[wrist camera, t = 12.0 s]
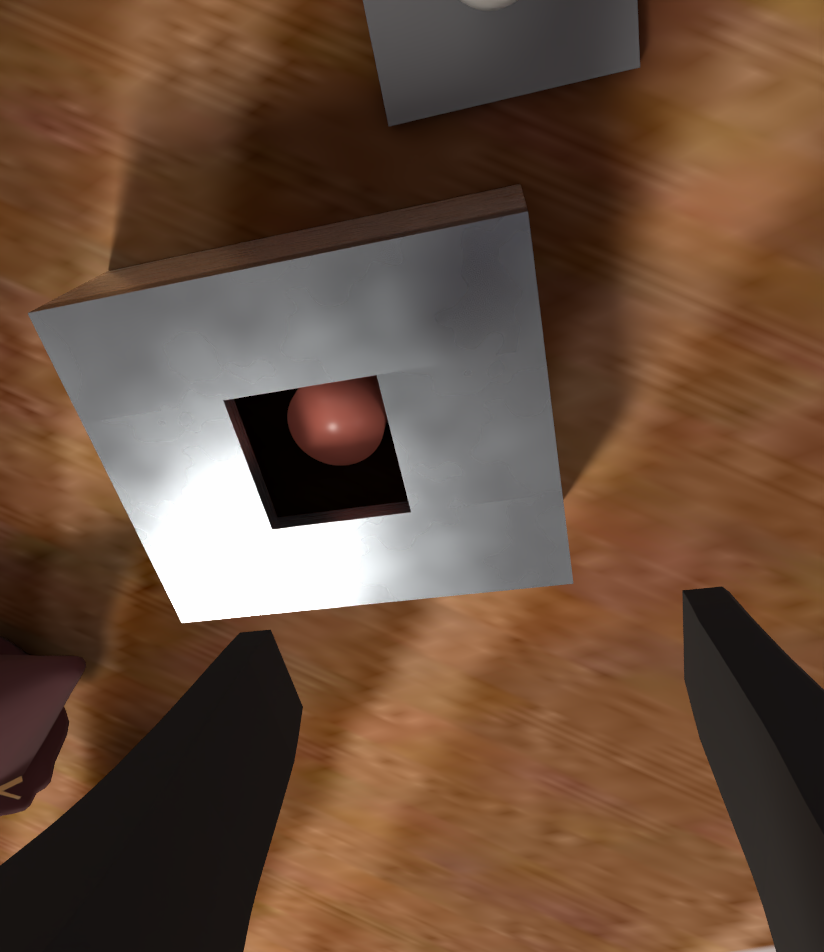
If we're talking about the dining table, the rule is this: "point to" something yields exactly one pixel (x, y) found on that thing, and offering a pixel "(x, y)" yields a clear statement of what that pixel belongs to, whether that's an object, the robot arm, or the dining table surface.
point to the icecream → (31, 720)
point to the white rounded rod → (488, 4)
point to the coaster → (493, 50)
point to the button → (338, 420)
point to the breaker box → (319, 362)
